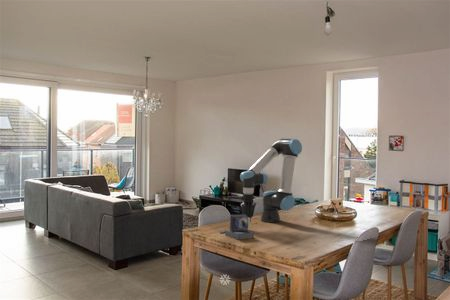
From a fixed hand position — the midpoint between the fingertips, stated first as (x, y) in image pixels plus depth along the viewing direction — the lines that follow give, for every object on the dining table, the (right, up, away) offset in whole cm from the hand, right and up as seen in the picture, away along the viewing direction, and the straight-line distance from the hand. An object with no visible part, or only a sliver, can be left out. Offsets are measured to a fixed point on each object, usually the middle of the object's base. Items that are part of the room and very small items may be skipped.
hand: (247, 226), depth 273 cm
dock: (-8, -3, -15) cm, 18 cm away
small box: (-7, 0, -17) cm, 19 cm away
